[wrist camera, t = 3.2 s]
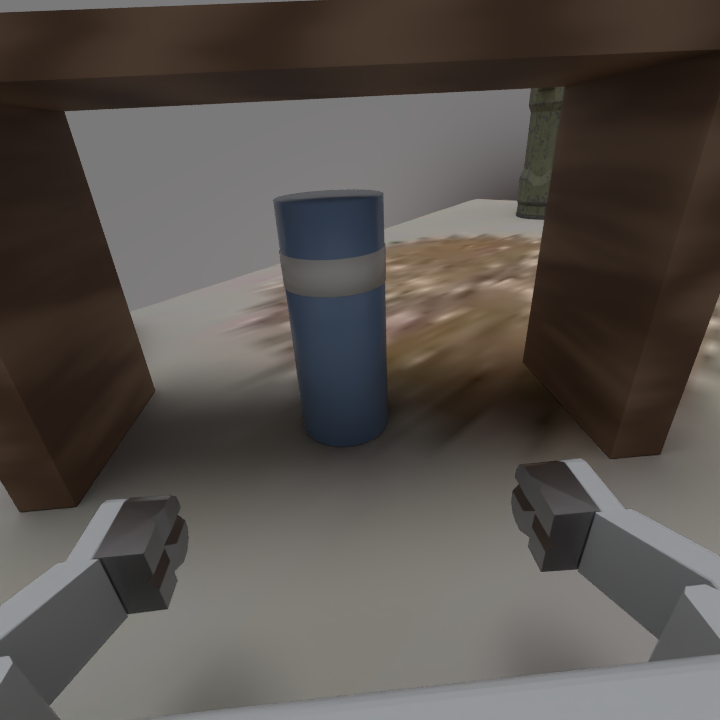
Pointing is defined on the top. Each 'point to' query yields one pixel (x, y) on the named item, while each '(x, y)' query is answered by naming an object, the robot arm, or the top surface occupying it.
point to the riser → (363, 78)
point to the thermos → (539, 151)
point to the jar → (337, 310)
